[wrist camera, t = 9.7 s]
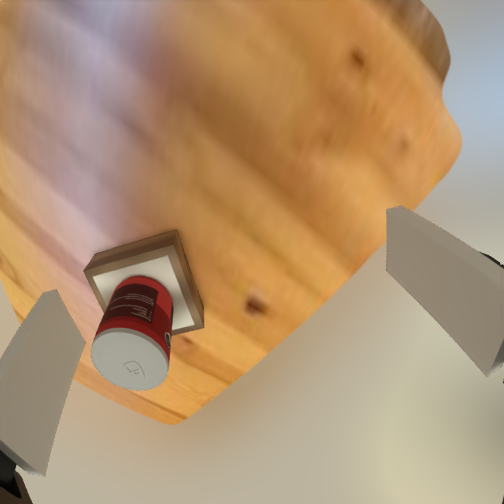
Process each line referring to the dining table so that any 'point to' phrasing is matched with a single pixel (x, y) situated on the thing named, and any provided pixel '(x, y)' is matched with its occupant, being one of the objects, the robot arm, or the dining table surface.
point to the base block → (150, 275)
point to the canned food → (135, 335)
